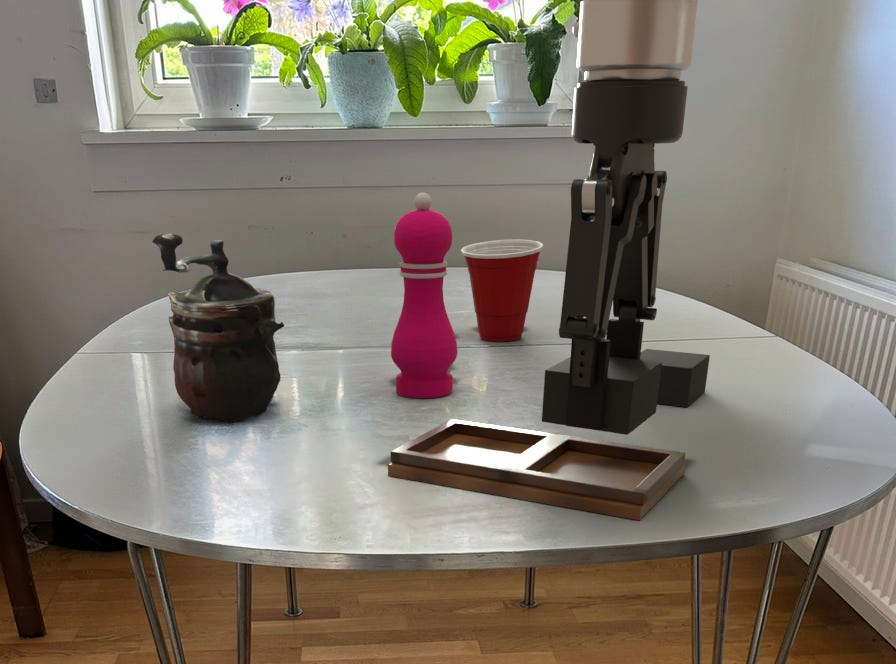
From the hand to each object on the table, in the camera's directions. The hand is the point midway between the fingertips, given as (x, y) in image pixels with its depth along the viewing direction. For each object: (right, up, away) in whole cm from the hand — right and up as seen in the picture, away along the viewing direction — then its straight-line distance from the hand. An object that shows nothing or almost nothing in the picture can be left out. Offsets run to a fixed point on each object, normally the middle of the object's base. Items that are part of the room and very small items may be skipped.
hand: (601, 414), depth 75 cm
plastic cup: (-3, +23, +55) cm, 60 cm away
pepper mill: (-14, +10, +30) cm, 35 cm away
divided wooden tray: (-5, -4, +5) cm, 8 cm away
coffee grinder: (-34, +5, +22) cm, 41 cm away
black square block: (0, 0, 0) cm, 0 cm away
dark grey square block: (+12, +8, +27) cm, 31 cm away
